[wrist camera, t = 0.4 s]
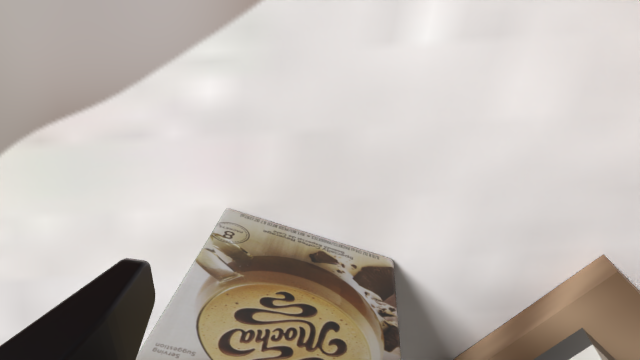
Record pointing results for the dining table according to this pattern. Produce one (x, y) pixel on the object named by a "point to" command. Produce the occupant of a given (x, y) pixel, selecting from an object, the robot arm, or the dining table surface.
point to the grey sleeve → (577, 349)
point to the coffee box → (278, 299)
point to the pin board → (571, 318)
